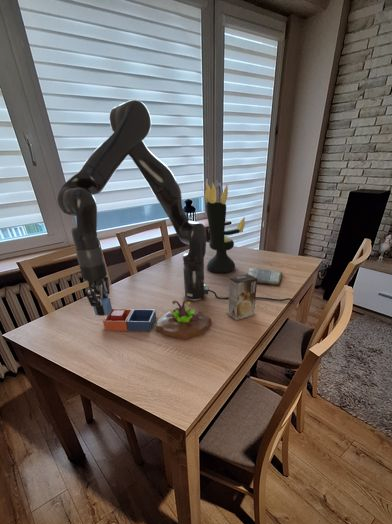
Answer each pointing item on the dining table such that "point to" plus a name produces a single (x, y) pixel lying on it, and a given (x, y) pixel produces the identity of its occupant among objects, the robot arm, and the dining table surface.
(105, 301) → the blue block
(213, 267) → the candelabra
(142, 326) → the slate bin
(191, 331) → the plant
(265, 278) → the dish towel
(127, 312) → the terracotta bin
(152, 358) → the dining table surface
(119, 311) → the brick block
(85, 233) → the robot arm
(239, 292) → the coffee box
